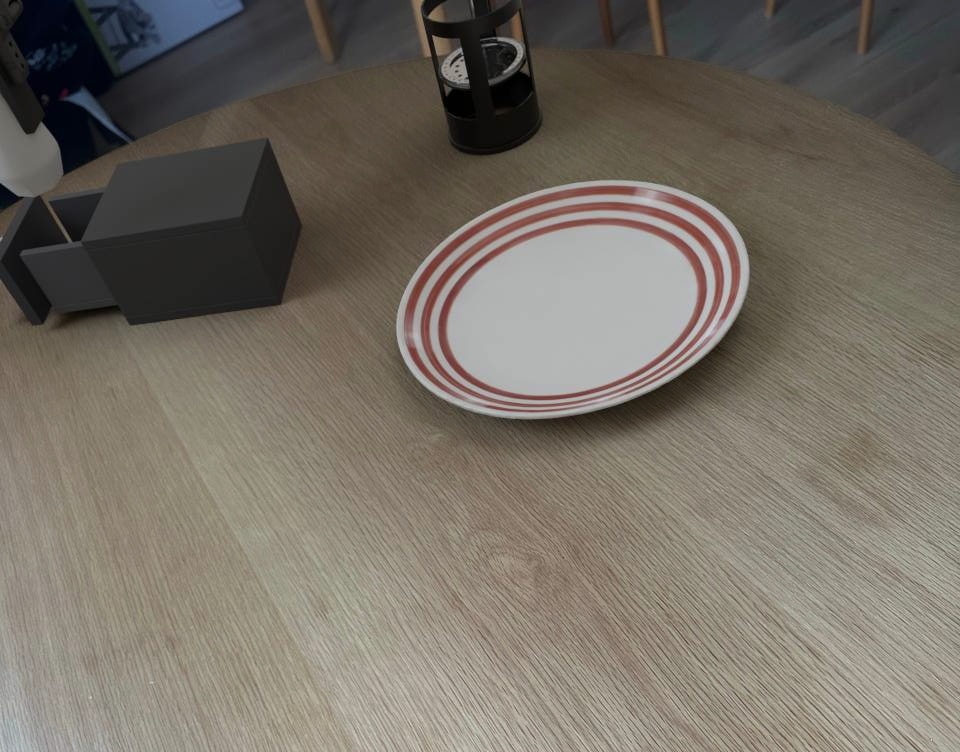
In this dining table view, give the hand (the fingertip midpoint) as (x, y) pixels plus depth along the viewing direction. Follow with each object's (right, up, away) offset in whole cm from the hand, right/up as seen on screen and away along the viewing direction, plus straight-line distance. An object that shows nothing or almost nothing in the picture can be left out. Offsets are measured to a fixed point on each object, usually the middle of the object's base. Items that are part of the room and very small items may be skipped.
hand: (7, 128), depth 80 cm
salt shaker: (+1, -3, +4) cm, 5 cm away
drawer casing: (+13, -6, +15) cm, 21 cm away
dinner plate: (+44, -15, +1) cm, 47 cm away
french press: (+39, +10, +20) cm, 45 cm away
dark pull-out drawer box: (-1, -6, +18) cm, 19 cm away
